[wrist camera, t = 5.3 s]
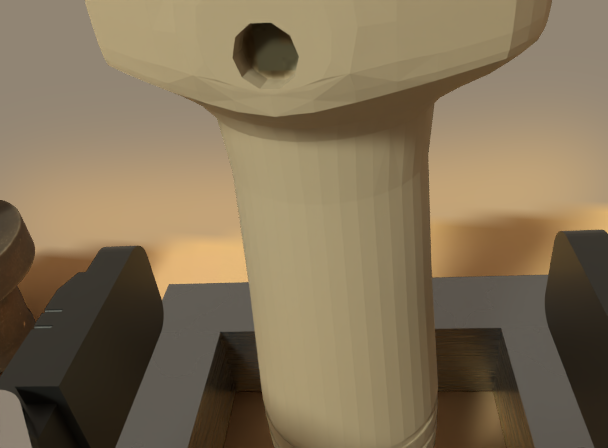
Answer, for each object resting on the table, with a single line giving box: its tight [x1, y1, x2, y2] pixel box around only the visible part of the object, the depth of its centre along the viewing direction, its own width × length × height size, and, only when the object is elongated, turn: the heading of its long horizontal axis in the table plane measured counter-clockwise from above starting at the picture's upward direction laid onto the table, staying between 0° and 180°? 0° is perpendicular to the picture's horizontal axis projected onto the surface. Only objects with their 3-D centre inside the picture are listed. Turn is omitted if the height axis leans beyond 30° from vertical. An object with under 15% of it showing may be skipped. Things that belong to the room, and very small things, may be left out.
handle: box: [85, 0, 552, 448], centre depth 12 cm, size 5×6×15 cm
